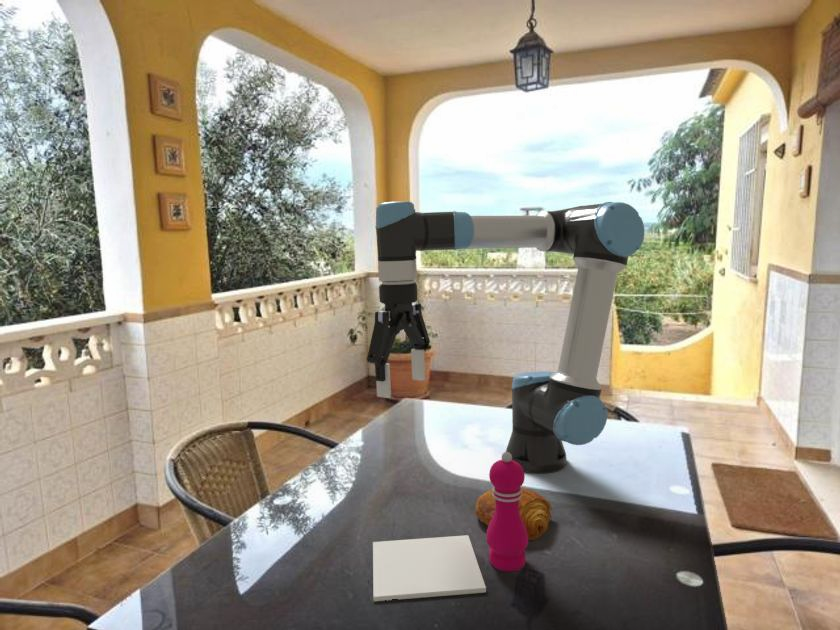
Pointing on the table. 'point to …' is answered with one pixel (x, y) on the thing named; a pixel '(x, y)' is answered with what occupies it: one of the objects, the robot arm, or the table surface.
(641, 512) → the table surface
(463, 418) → the table surface
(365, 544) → the table surface
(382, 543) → the white mat
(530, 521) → the croissant
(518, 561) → the pepper mill
